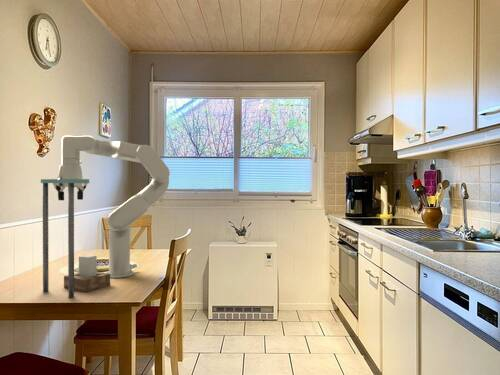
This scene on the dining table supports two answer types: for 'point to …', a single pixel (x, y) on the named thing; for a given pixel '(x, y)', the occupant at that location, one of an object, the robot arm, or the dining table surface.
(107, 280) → the brown shallow box
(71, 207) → the two-post crossbar frame
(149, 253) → the dining table surface
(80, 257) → the skincare box
